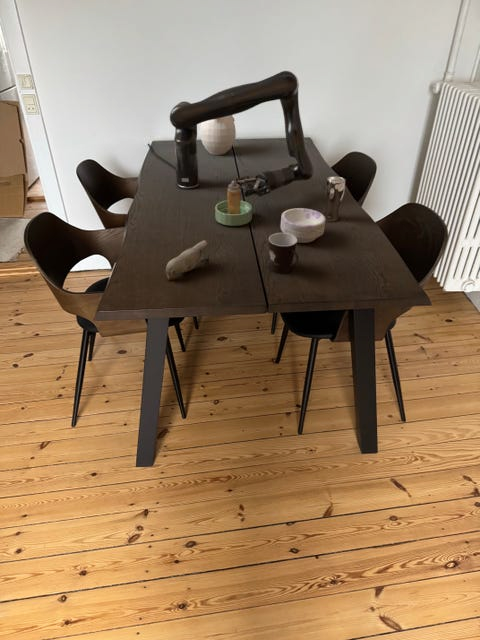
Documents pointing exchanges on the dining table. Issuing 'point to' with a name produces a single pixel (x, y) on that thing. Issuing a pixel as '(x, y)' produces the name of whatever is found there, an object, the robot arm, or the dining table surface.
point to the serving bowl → (233, 219)
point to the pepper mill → (234, 198)
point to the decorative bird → (186, 260)
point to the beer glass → (333, 197)
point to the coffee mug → (282, 252)
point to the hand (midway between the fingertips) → (237, 190)
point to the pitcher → (218, 134)
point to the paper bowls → (303, 224)
